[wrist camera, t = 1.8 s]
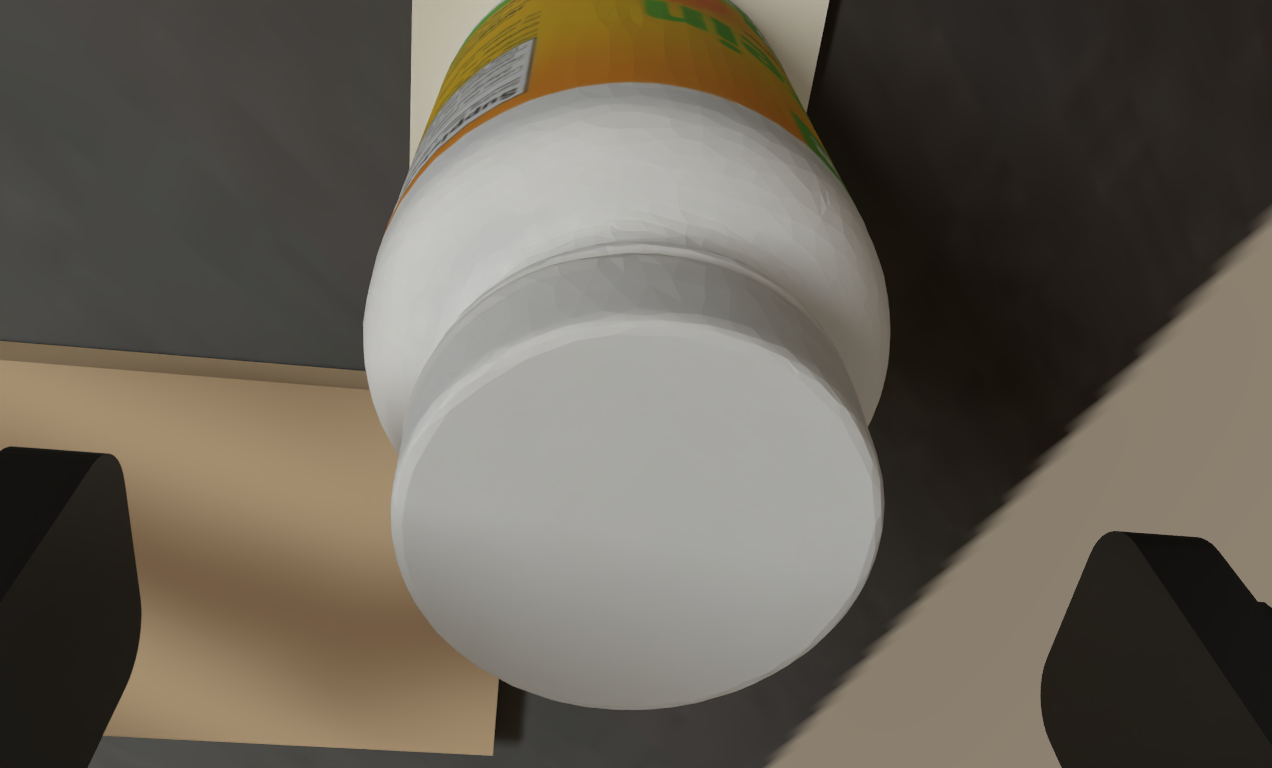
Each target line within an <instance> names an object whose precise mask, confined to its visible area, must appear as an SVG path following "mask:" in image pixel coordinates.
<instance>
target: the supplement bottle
mask: <svg viewBox="0 0 1272 768" xmlns="http://www.w3.org/2000/svg"><path fill="white" fill-rule="evenodd" d="M363 343H364V361H365V369H366V374H367V380H368V384H369V389H370V393H371V397H372V401H373V404H374V407H375V409H376V412H377V415H378V417H379V420H380V423H381V425H382V427H383V429H384V431H385V433H386V435H387V437H388V439H389V441H390V442H391V444H392V446H393V448H394V450H395V451H396V453H397V454H398V456H399V457H398V462H397V467H396V472H395V477H394V482H393V488H392V496H391V533H392V540H393V546H394V550H395V555H396V559H397V562H398V565H399V568H400V571H401V574H402V577H403V579H404V582H405V584H406V587H407V589H408V591H409V593H410V595H411V596H412V598H413V600H414V602H415V604H416V605H417V607H418V608H419V610H420V611H421V612H422V614H423V615H424V616H425V618H426V619H427V620H428V622H429V623H430V624H431V626H432V627H433V628H434V629H435V631H436V632H437V633H438V634H439V635H440V636H441V637H442V638H443V639H444V640H445V641H446V642H448V643H449V644H450V645H451V646H452V647H453V648H454V649H455V650H456V651H457V652H458V653H460V654H461V655H462V656H464V657H465V658H466V659H468V660H469V661H470V662H472V663H473V664H474V665H476V666H477V667H479V668H480V669H482V670H484V671H486V672H488V673H490V674H491V675H493V676H495V677H497V678H499V679H501V680H502V681H504V682H506V683H508V684H510V685H512V686H514V687H516V688H519V689H522V690H525V691H528V692H530V693H533V694H536V695H539V696H542V697H545V698H548V699H552V700H555V701H558V702H563V703H568V704H573V705H578V706H584V707H593V708H603V709H614V710H645V709H658V708H669V707H676V706H682V705H687V704H693V703H698V702H702V701H705V700H708V699H712V698H715V697H719V696H722V695H725V694H729V693H732V692H736V691H738V690H740V689H743V688H745V687H747V686H750V685H752V684H754V683H756V682H758V681H760V680H762V679H764V678H766V677H768V676H770V675H772V674H774V673H776V672H777V671H779V670H781V669H783V668H784V667H786V666H788V665H789V664H791V663H792V662H794V661H795V660H797V659H798V658H800V657H801V656H802V655H804V654H805V653H807V652H808V651H809V650H810V649H812V648H813V647H814V646H815V645H816V644H817V643H818V642H819V641H820V640H821V639H823V638H824V637H825V636H826V635H827V634H828V633H829V632H830V631H831V630H832V629H833V628H834V627H835V626H836V625H837V623H838V622H839V621H840V620H841V619H842V618H843V617H844V616H845V615H846V613H847V612H848V610H849V609H850V607H851V606H852V604H853V603H854V601H855V600H856V598H857V597H858V595H859V593H860V592H861V590H862V588H863V587H864V585H865V583H866V581H867V578H868V576H869V574H870V571H871V569H872V566H873V564H874V561H875V558H876V555H877V551H878V548H879V543H880V539H881V534H882V530H883V519H884V503H885V501H884V489H883V478H882V474H881V469H880V465H879V461H878V457H877V453H876V450H875V447H874V444H873V441H872V438H871V435H870V433H869V430H868V425H869V423H870V422H871V420H872V417H873V415H874V412H875V409H876V407H877V405H878V402H879V400H880V397H881V393H882V389H883V385H884V381H885V377H886V372H887V367H888V359H889V348H890V313H889V304H888V296H887V290H886V284H885V279H884V274H883V271H882V268H881V265H880V262H879V259H878V256H877V253H876V251H875V248H874V245H873V242H872V240H871V238H870V236H869V234H868V232H867V229H866V226H865V223H864V221H863V219H862V217H861V215H860V214H859V212H858V210H857V208H856V206H855V204H854V202H853V200H852V198H851V196H850V195H849V193H848V191H847V189H846V187H845V185H844V184H843V182H842V180H841V178H840V176H839V174H838V172H837V171H836V169H835V167H834V165H833V163H832V161H831V159H830V157H829V156H828V154H827V152H826V150H825V148H824V146H823V144H822V143H821V141H820V139H819V137H818V135H817V133H816V131H815V129H814V128H813V126H812V124H811V122H810V120H809V118H808V116H807V114H806V112H805V110H804V108H803V106H802V104H801V102H800V100H799V98H798V96H797V94H796V92H795V90H794V89H793V87H792V85H791V83H790V81H789V79H788V77H787V75H786V73H785V71H784V69H783V67H782V65H781V63H780V61H779V59H778V57H777V55H776V54H775V52H774V50H773V49H772V48H771V46H770V45H769V43H768V42H767V40H766V38H765V37H764V35H763V34H762V33H761V31H760V30H759V29H758V27H757V26H756V25H755V24H754V22H753V21H752V20H751V19H750V17H749V16H748V15H747V14H746V13H745V12H744V11H743V10H742V9H741V8H740V7H739V6H738V5H737V4H735V3H734V2H733V1H732V0H501V1H499V2H498V3H497V4H496V5H495V6H494V7H493V8H492V9H491V10H490V11H489V12H488V13H487V14H486V15H485V16H484V17H483V18H482V19H481V20H480V21H479V22H478V23H477V24H476V25H475V27H474V28H473V29H472V31H471V32H470V33H469V35H468V36H467V38H466V39H465V40H464V42H463V44H462V45H461V47H460V49H459V51H458V52H457V54H456V56H455V58H454V60H453V61H452V63H451V65H450V67H449V69H448V72H447V74H446V76H445V78H444V81H443V83H442V86H441V89H440V91H439V94H438V97H437V99H436V102H435V104H434V107H433V109H432V112H431V115H430V117H429V120H428V122H427V125H426V127H425V130H424V133H423V135H422V138H421V140H420V143H419V146H418V148H417V151H416V154H415V156H414V159H413V162H412V164H411V167H410V170H409V172H408V175H407V177H406V180H405V183H404V185H403V188H402V190H401V193H400V196H399V199H398V201H397V204H396V206H395V209H394V211H393V213H392V215H391V218H390V220H389V223H388V226H387V229H386V231H385V234H384V237H383V240H382V242H381V245H380V248H379V251H378V254H377V258H376V262H375V266H374V270H373V274H372V278H371V282H370V287H369V291H368V296H367V301H366V308H365V314H364V321H363Z"/></svg>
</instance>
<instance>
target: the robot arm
mask: <svg viewBox="0 0 1272 768" xmlns="http://www.w3.org/2000/svg"><path fill="white" fill-rule="evenodd" d="M141 619H142V607H141V597H140V590H139V582H138V575H137V568H136V560H135V553H134V546H133V538H132V531H131V524H130V516H129V509H128V502H127V494H126V487H125V480H124V475H123V471H122V468H121V465H120V463H119V461H118V459H117V458H116V457H115V456H114V455H112V454H109V453H95V452H82V451H68V450H55V449H42V448H28V447H15V446H9V447H6V448H4V449H2V450H1V451H0V768H87V767H88V765H89V763H90V761H91V759H92V757H93V755H94V753H95V751H96V749H97V747H98V744H99V742H100V740H101V738H102V736H103V734H104V732H105V730H106V728H107V726H108V724H109V721H110V719H111V717H112V715H113V713H114V711H115V709H116V707H117V705H118V703H119V701H120V699H121V696H122V694H123V692H124V690H125V688H126V686H127V684H128V681H129V679H130V676H131V673H132V670H133V667H134V664H135V660H136V656H137V651H138V646H139V640H140V632H141ZM1041 709H1042V716H1043V722H1044V726H1045V729H1046V733H1047V735H1048V738H1049V741H1050V743H1051V745H1052V747H1053V749H1054V752H1055V754H1056V756H1057V758H1058V760H1059V763H1060V765H1061V767H1062V768H1272V608H1271V607H1270V606H1268V605H1267V604H1266V603H1264V602H1257V600H1256V599H1255V598H1254V596H1253V595H1252V594H1251V593H1250V591H1249V590H1248V589H1247V587H1246V586H1245V585H1244V583H1243V582H1242V581H1241V580H1240V578H1239V577H1238V576H1237V574H1236V573H1235V572H1234V570H1233V569H1232V568H1231V567H1230V565H1229V564H1228V563H1227V561H1226V560H1225V559H1224V557H1223V556H1222V555H1221V554H1220V552H1219V551H1218V550H1217V549H1216V548H1215V547H1214V546H1213V545H1212V544H1211V543H1209V542H1208V541H1206V540H1204V539H1202V538H1198V537H1186V536H1173V535H1159V534H1146V533H1145V534H1144V533H1132V532H1119V531H1113V532H1109V533H1107V534H1105V535H1104V536H1102V537H1101V538H1100V539H1099V540H1098V542H1097V543H1096V544H1095V546H1094V548H1093V550H1092V552H1091V554H1090V556H1089V558H1088V561H1087V563H1086V566H1085V568H1084V570H1083V573H1082V575H1081V578H1080V580H1079V582H1078V585H1077V587H1076V590H1075V592H1074V594H1073V597H1072V599H1071V602H1070V604H1069V607H1068V609H1067V611H1066V614H1065V616H1064V619H1063V621H1062V623H1061V626H1060V628H1059V631H1058V633H1057V635H1056V638H1055V640H1054V643H1053V645H1052V648H1051V650H1050V652H1049V655H1048V657H1047V660H1046V663H1045V666H1044V670H1043V674H1042V681H1041Z"/></svg>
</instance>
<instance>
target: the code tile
mask: <svg viewBox="0 0 1272 768" xmlns="http://www.w3.org/2000/svg"><path fill="white" fill-rule="evenodd" d="M499 1H501V0H412V52H411V116H410V167H411V164H412V162H413V159H414V156H415V154H416V151H417V148H418V146H419V143H420V140H421V138H422V135H423V133H424V130H425V127H426V125H427V122H428V120H429V117H430V115H431V112H432V109H433V107H434V104H435V102H436V99H437V97H438V94H439V91H440V89H441V86H442V83H443V81H444V78H445V76H446V74H447V72H448V69H449V67H450V65H451V63H452V61H453V60H454V58H455V56H456V54H457V52H458V51H459V49H460V47H461V45H462V44H463V42H464V40H465V39H466V38H467V36H468V35H469V33H470V32H471V31H472V29H473V28H474V27H475V25H476V24H477V23H478V22H479V21H480V20H481V19H482V18H483V17H484V16H485V15H486V14H487V13H488V12H489V11H490V10H491V9H492V8H493V7H494V6H495V5H496V4H497V3H498V2H499ZM732 1H733V2H734V3H735V4H737V5H738V6H739V7H740V8H741V9H742V10H743V11H744V12H745V13H746V14H747V15H748V16H749V17H750V19H751V20H752V21H753V22H754V24H755V25H756V26H757V27H758V29H759V30H760V31H761V33H762V34H763V35H764V37H765V38H766V40H767V42H768V43H769V45H770V46H771V48H772V49H773V50H774V52H775V54H776V55H777V57H778V59H779V61H780V63H781V65H782V67H783V69H784V71H785V73H786V75H787V77H788V79H789V81H790V83H791V85H792V87H793V89H794V90H795V92H796V94H797V96H798V98H799V100H800V102H801V104H802V106H803V108H804V110H805V112H807V107H808V102H809V98H810V93H811V88H812V83H813V78H814V73H815V68H816V63H817V58H818V53H819V49H820V44H821V39H822V34H823V29H824V24H825V19H826V14H827V9H828V4H829V0H732Z"/></svg>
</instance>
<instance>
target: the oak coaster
mask: <svg viewBox="0 0 1272 768" xmlns="http://www.w3.org/2000/svg"><path fill="white" fill-rule="evenodd" d="M9 446H15V447H28V448H42V449H55V450H68V451H82V452H95V453H109V454H112V455H114V456H115V457H116V458H117V459H118V461H119V463H120V465H121V468H122V471H123V475H124V480H125V487H126V494H127V502H128V509H129V516H130V524H131V531H132V538H133V546H134V553H135V560H136V568H137V575H138V582H139V590H140V597H141V607H142V619H141V632H140V640H139V646H138V651H137V656H136V660H135V664H134V667H133V670H132V673H131V676H130V679H129V681H128V684H127V686H126V688H125V690H124V692H123V694H122V696H121V699H120V701H119V703H118V705H117V707H116V709H115V711H114V713H113V715H112V717H111V719H110V721H109V724H108V726H107V728H106V730H105V732H104V734H103V736H121V737H140V738H160V739H179V740H199V741H218V742H237V743H257V744H276V745H296V746H315V747H335V748H354V749H374V750H393V751H413V752H432V753H452V754H471V755H491V756H493V747H494V736H495V724H496V711H497V698H498V686H499V678H497V677H495V676H493V675H491V674H490V673H488V672H486V671H484V670H482V669H480V668H479V667H477V666H476V665H474V664H473V663H472V662H470V661H469V660H468V659H466V658H465V657H464V656H462V655H461V654H460V653H458V652H457V651H456V650H455V649H454V648H453V647H452V646H451V645H450V644H449V643H448V642H446V641H445V640H444V639H443V638H442V637H441V636H440V635H439V634H438V633H437V632H436V631H435V629H434V628H433V627H432V626H431V624H430V623H429V622H428V620H427V619H426V618H425V616H424V615H423V614H422V612H421V611H420V610H419V608H418V607H417V605H416V604H415V602H414V600H413V598H412V596H411V595H410V593H409V591H408V589H407V587H406V584H405V582H404V579H403V577H402V574H401V571H400V568H399V565H398V562H397V559H396V555H395V550H394V546H393V540H392V533H391V496H392V488H393V482H394V477H395V472H396V467H397V462H398V457H399V456H398V454H397V453H396V451H395V450H394V448H393V446H392V444H391V442H390V441H389V439H388V437H387V435H386V433H385V431H384V429H383V427H382V425H381V423H380V420H379V417H378V415H377V412H376V409H375V407H374V404H373V401H372V397H371V393H370V389H369V384H368V380H367V374H366V371H358V370H346V369H334V368H322V367H310V366H298V365H286V364H274V363H262V362H249V361H237V360H225V359H213V358H201V357H189V356H177V355H165V354H153V353H141V352H129V351H117V350H105V349H93V348H81V347H68V346H56V345H44V344H32V343H20V342H8V341H0V451H1V450H2V449H4V448H6V447H9Z"/></svg>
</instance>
